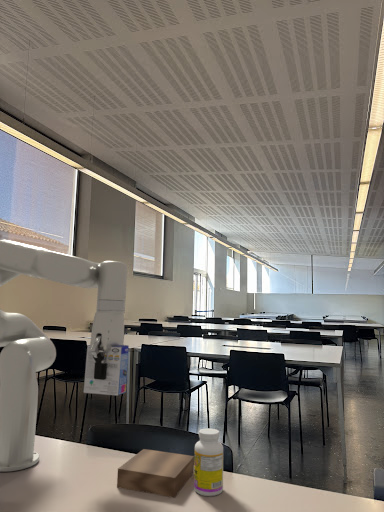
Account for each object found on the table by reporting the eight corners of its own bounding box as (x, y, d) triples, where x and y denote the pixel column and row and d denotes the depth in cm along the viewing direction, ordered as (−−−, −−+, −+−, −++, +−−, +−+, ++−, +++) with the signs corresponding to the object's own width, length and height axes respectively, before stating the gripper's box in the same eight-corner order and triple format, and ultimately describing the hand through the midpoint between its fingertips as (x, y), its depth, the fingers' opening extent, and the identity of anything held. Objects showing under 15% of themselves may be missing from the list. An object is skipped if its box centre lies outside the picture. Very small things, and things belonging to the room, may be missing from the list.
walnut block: (116, 487, 88) (117, 468, 89) (143, 465, 101) (143, 448, 102) (174, 497, 84) (174, 477, 85) (193, 473, 97) (194, 456, 98)
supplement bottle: (196, 482, 92) (197, 425, 94) (224, 485, 90) (225, 428, 92) (191, 495, 85) (192, 434, 87) (220, 499, 84) (221, 436, 86)
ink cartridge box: (127, 392, 102) (130, 336, 104) (119, 396, 96) (122, 337, 98) (92, 389, 104) (96, 334, 106) (82, 393, 98) (86, 335, 100)
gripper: (114, 307, 113) (110, 371, 110) (80, 306, 96) (74, 381, 94) (137, 308, 110) (134, 374, 108) (106, 307, 94) (101, 384, 91)
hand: (106, 376), depth 101 cm, fingers closed on ink cartridge box, 5 cm apart
